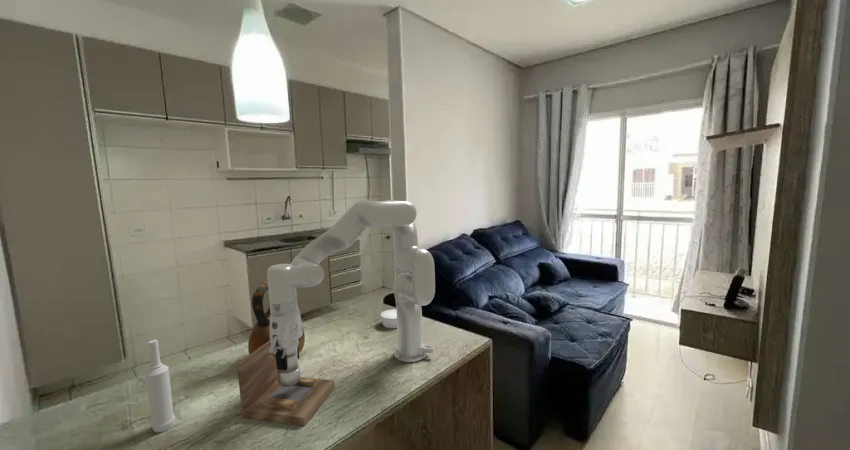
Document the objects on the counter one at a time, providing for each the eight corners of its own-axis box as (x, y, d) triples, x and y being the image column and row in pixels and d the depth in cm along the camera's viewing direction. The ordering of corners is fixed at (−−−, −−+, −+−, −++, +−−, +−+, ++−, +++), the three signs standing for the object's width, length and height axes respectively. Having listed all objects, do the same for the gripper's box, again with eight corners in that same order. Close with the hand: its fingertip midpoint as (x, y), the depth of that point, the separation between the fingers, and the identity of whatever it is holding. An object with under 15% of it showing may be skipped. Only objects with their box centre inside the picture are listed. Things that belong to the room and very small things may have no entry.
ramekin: (404, 329, 155) (404, 318, 155) (379, 330, 155) (379, 318, 155) (405, 319, 166) (405, 308, 166) (382, 320, 166) (381, 309, 166)
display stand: (334, 387, 112) (332, 339, 110) (305, 426, 95) (300, 369, 93) (280, 381, 116) (276, 335, 114) (241, 417, 99) (236, 363, 97)
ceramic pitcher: (315, 347, 140) (310, 275, 136) (282, 374, 121) (275, 291, 117) (275, 342, 146) (269, 273, 142) (237, 367, 126) (229, 288, 123)
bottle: (180, 419, 99) (169, 336, 95) (167, 432, 94) (155, 345, 90) (161, 420, 98) (150, 337, 95) (147, 433, 93) (135, 346, 90)
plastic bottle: (278, 379, 107) (273, 318, 104) (302, 375, 109) (297, 314, 106) (276, 391, 101) (271, 326, 98) (301, 387, 103) (296, 323, 100)
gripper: (277, 318, 93) (282, 381, 95) (310, 297, 109) (314, 351, 112) (252, 316, 94) (258, 378, 96) (289, 296, 111) (293, 349, 113)
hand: (288, 363), depth 104 cm, fingers closed on plastic bottle, 5 cm apart
